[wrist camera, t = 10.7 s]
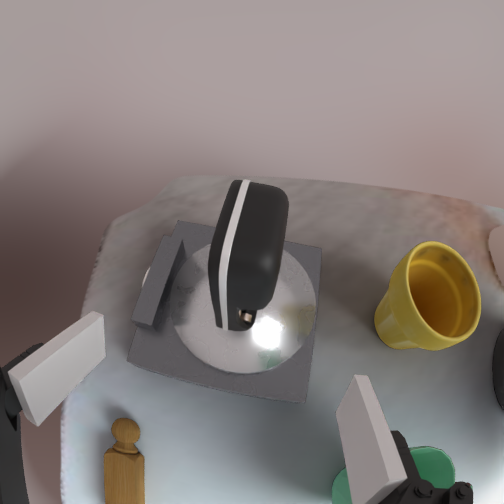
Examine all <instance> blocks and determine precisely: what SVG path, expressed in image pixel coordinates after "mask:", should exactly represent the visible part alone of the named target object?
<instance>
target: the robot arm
mask: <svg viewBox="0 0 504 504" xmlns="http://www.w3.org/2000/svg"><path fill="white" fill-rule="evenodd" d="M105 357H106V351H105V337H104V315H102V314H99V313H97V312H94V311H91V312H90V313H89V314H87V315H86V316H84V317H83V318H81V319H80V320H78V321H77V322H76V323H74V324H73V325H71V326H70V327H68V328H67V329H66V330H64V331H63V332H61V333H60V334H58V335H57V336H56V337H54V338H53V339H51V340H50V341H49V342H47V343H46V344H45V345H44V344H43V343H40V344H36V345H33V346H32V347H30V348H29V349H27V350H26V352H23V353H22V354H21V355H20V356H18V357H16V358H15V359H13V360H12V361H11V362H9V363H8V364H7V365H5V366H4V367H2V368H1V367H0V504H29V499H28V494H27V489H26V483H25V476H24V469H23V460H22V448H21V431H20V429H21V427H20V414H19V412H20V411H21V410H23V412H24V414H25V416H26V418H27V419H28V420H29V421H31V422H32V423H34V424H35V425H36V426H39V425H40V424H41V423H42V422H43V421H44V420H45V419H46V417H47V416H48V415H49V414H50V413H51V412H52V411H53V410H54V409H55V408H56V407H57V406H58V405H59V404H60V403H61V402H62V401H63V400H64V399H65V398H66V397H67V396H68V395H69V394H70V392H71V391H72V390H73V389H74V388H75V387H76V386H77V385H78V384H79V383H80V382H81V381H82V380H83V379H84V378H85V377H86V376H87V375H88V374H89V373H90V372H91V371H92V370H93V369H94V368H95V367H96V366H97V365H98V364H99V363H100V362H101V361H102V360H103V359H104V358H105ZM493 379H494V387H495V392H496V396H497V399H498V401H499V403H500V405H501V407H502V408H503V410H504V329H503V330H502V332H501V333H500V335H499V337H498V339H497V342H496V346H495V351H494V358H493ZM335 413H336V418H337V422H338V427H339V432H340V437H341V442H342V447H343V453H344V458H345V464H346V469H347V475H348V481H349V486H350V493H351V499H352V504H473V490H472V488H471V486H470V485H469V484H467V483H465V482H457V483H455V484H453V485H452V486H451V487H450V488H449V489H446V488H434V486H433V485H432V483H430V482H429V481H427V480H424V479H421V477H420V475H419V472H418V470H417V467H416V464H415V462H414V459H413V457H412V455H411V452H410V450H409V448H408V445H407V442H406V440H405V438H404V437H403V436H402V434H401V433H400V432H399V431H398V430H397V431H390V429H389V427H388V424H387V421H386V419H385V416H384V414H383V411H382V409H381V407H380V404H379V402H378V399H377V397H376V394H375V392H374V390H373V387H372V385H371V383H370V380H369V378H368V376H366V375H355V374H354V376H353V378H352V380H351V382H350V384H349V387H348V389H347V391H346V393H345V395H344V397H343V399H342V401H341V403H340V404H339V406H338V408H337V410H336V412H335Z"/></svg>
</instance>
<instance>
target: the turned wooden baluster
mask: <svg viewBox="0 0 504 504" xmlns="http://www.w3.org/2000/svg"><path fill="white" fill-rule="evenodd" d="M111 431H112V434H113V436H114V437H115V439H117V442H116V443H115V444H114V445H113V448H110V449H108V450H107V451H106V452H105V454H104V487H105V504H145V494H144V456H143V455H142V454H140V453H138V449H137V448H136V447H135V445H134V443H135V442H137V441H138V439H139V437H140V428H139V426H138V425H137V423H136V422H134V421H133V420H131V419H128V418H119V419H117V420H116V421H114V423H113V424H112V428H111ZM117 451H118V452H117ZM120 452H121V453H120ZM124 453H125V454H124ZM136 453H138V454H136ZM130 454H136V455H130Z"/></svg>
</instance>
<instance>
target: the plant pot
mask: <svg viewBox="0 0 504 504" xmlns="http://www.w3.org/2000/svg"><path fill="white" fill-rule="evenodd" d="M480 314H481V295H480V290H479V286H478V283H477V280H476V278H475V276H474V274H473V272H472V270H471V268H470V267H469V265H468V264H467V262H466V261H465V260H464V259H463V258H462V256H461V255H460V254H458V253H457V252H456V251H455V250H454V249H452V248H451V247H449V246H447V245H445V244H443V243H440V242H436V241H426V242H423V243H420V244H418V245H416V246H415V247H414V248H413V249H412V250H410V251H409V253H408V254H407V255H406V256H405V257H404V258H403V259H402V260H401V261H400V262H399V264H398V265H397V266H396V268H395V269H394V271H393V273H392V275H391V278H390V282H389V289H388V290H387V292H386V294H385V295H384V297H383V298H382V300H381V302H380V303H379V305H378V306H377V309H376V311H375V316H374V323H375V328H376V331H377V333H378V335H379V337H380V339H381V340H382V341H383V342H384V343H385V344H386V345H388V346H389V347H391V348H394V349H409V348H423V349H426V350H431V351H437V350H442V349H445V348H448V347H450V346H453V345H455V344H457V343H460V342H462V341H464V340H465V339H467V338H468V337H469V336H470V335H471V334H472V333H473V332H474V330H475V329H476V327H477V325H478V322H479V319H480Z"/></svg>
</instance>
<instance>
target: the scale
mask: <svg viewBox="0 0 504 504" xmlns="http://www.w3.org/2000/svg"><path fill="white" fill-rule="evenodd" d="M215 229H216V227H211V226H206V225H200V224H195V223H190V222H184V221H179V220H178V222H177V224H176V226H175V229H174V231H173V234H172V236H167V235H164V236H163V238H162V240H161V242H160V245H159V247H158V250H157V252H156V254H155V257H154V259H153V262H152V264H151V266H150V267H149V268H148V270H147V272H146V274H145V276H144V279H143V284H142V290H141V292H140V295H139V298H138V300H137V303H136V306H135V309H134V311H133V314H132V317H131V320H132V321H133V322H134V323H135V324H136V325H137V329H136V332H135V335H134V339H133V342H132V345H131V348H130V351H129V355H128V358H127V362H129V363H131V364H133V365H135V366H137V367H140V368H143V369H146V370H149V371H152V372H155V373H158V374H161V375H164V376H168V377H171V378H174V379H178V380H182V381H185V382H189V383H193V384H196V385H200V386H204V387H209V388H213V389H217V390H222V391H226V392H231V393H236V394H241V395H246V396H251V397H257V398H263V399H269V400H276V401H283V402H290V403H305V401H306V395H307V388H308V382H309V375H310V368H311V360H312V352H313V344H314V336H315V326H316V317H317V307H318V295H319V283H320V269H321V254H322V249H321V248H316V247H312V246H307V245H302V244H297V243H292V242H287V241H284V246H283V253H282V260H281V266H280V271H279V275H278V280H277V284H276V288H275V291H274V295H273V298H272V300H271V301H270V302H269V304H268V305H267V306H266V307H265V308H264V309H262V310H257V314H256V319H255V322H254V325H253V327H252V328H250V329H249V330H247V331H231V330H228V331H226V330H223V329H222V328H219V327H217V326H216V322H215V315H214V309H213V305H212V300H211V294H210V287H209V279H208V258H209V251H210V247H211V243H212V239H213V236H214V232H215Z"/></svg>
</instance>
